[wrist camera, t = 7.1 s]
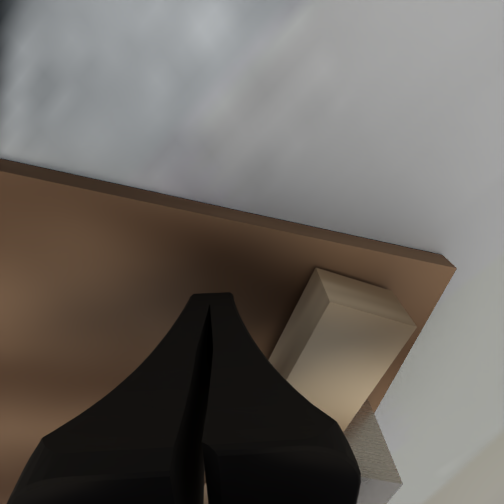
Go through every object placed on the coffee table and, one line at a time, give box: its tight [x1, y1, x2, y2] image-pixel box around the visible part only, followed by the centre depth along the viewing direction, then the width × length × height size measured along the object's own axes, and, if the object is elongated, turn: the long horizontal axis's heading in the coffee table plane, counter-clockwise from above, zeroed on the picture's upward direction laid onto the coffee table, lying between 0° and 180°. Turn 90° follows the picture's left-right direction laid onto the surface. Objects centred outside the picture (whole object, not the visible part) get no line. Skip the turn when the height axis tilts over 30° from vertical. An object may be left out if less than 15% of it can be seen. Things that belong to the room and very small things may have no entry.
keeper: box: [343, 400, 403, 504], centre depth 15 cm, size 3×6×4 cm, turn 71°
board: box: [0, 159, 457, 504], centre depth 16 cm, size 18×18×1 cm
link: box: [204, 268, 417, 504], centre depth 15 cm, size 14×3×3 cm, turn 159°
